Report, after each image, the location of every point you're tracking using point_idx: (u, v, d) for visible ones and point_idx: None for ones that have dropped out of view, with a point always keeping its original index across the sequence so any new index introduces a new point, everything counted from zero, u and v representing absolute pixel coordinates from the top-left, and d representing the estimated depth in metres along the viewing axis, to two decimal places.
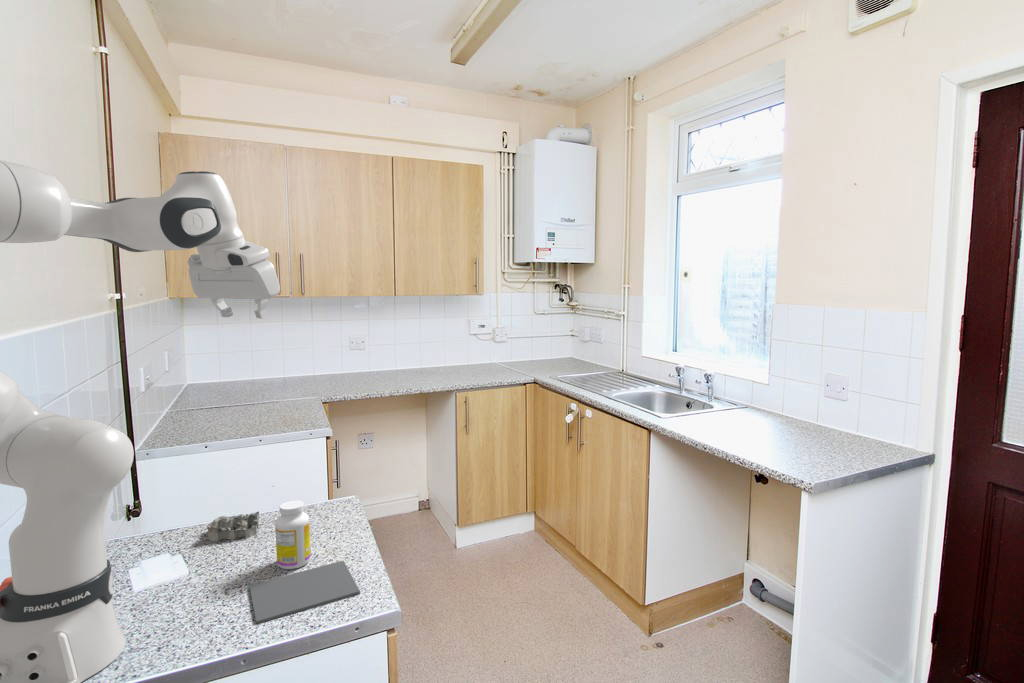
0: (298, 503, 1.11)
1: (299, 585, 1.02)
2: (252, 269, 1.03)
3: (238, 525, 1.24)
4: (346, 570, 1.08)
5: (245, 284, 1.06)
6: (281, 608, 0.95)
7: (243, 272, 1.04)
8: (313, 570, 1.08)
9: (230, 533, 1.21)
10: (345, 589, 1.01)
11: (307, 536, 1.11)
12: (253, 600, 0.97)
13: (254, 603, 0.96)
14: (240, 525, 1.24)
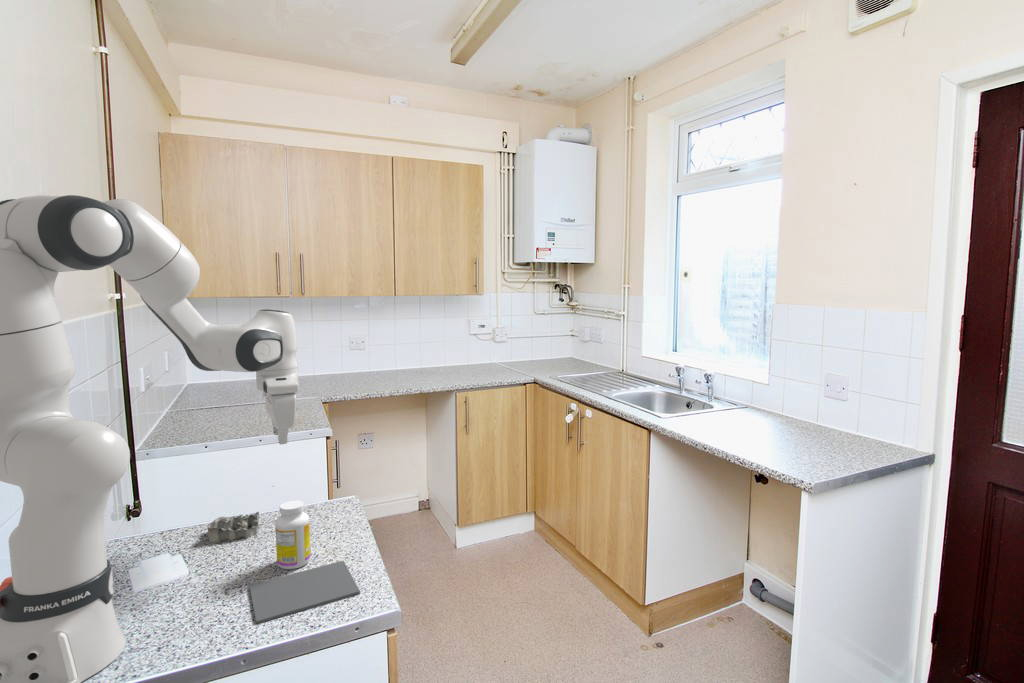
0: (298, 503, 1.11)
1: (299, 585, 1.02)
2: (271, 399, 1.12)
3: (238, 525, 1.24)
4: (346, 570, 1.08)
5: (273, 410, 1.16)
6: (281, 608, 0.95)
7: None
8: (313, 570, 1.08)
9: (230, 533, 1.21)
10: (345, 589, 1.01)
11: (307, 536, 1.11)
12: (253, 600, 0.97)
13: (254, 603, 0.96)
14: (240, 525, 1.24)
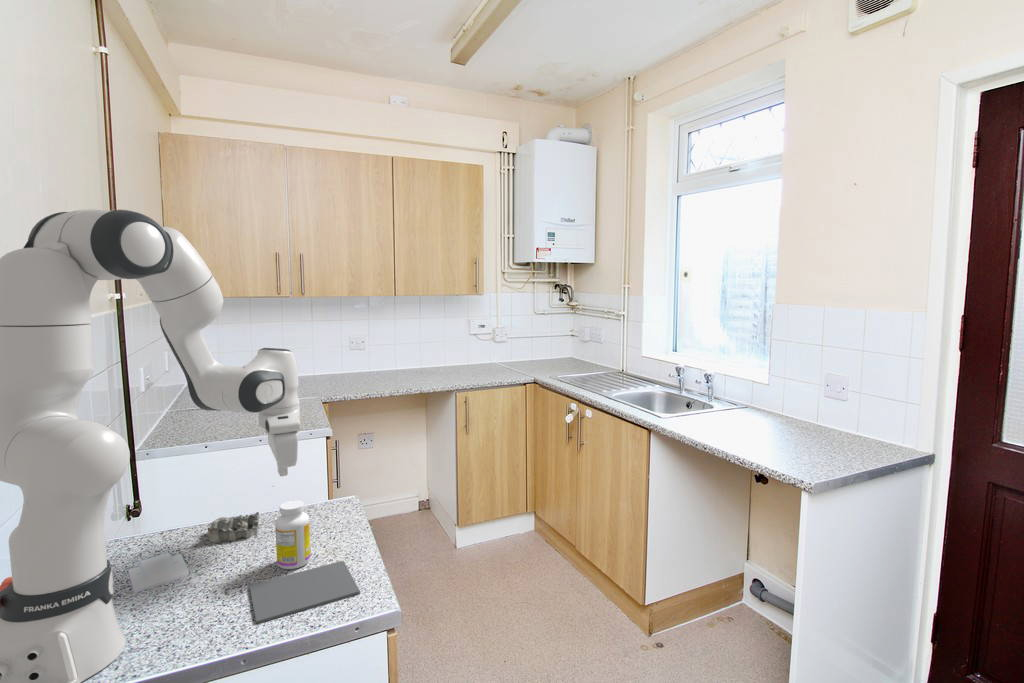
0: (298, 503, 1.11)
1: (299, 585, 1.02)
2: (273, 438, 1.13)
3: (238, 526, 1.24)
4: (346, 570, 1.08)
5: None
6: (281, 608, 0.95)
7: None
8: (313, 570, 1.08)
9: (231, 534, 1.21)
10: (345, 589, 1.01)
11: (307, 536, 1.11)
12: (253, 600, 0.97)
13: (254, 603, 0.96)
14: (240, 526, 1.24)
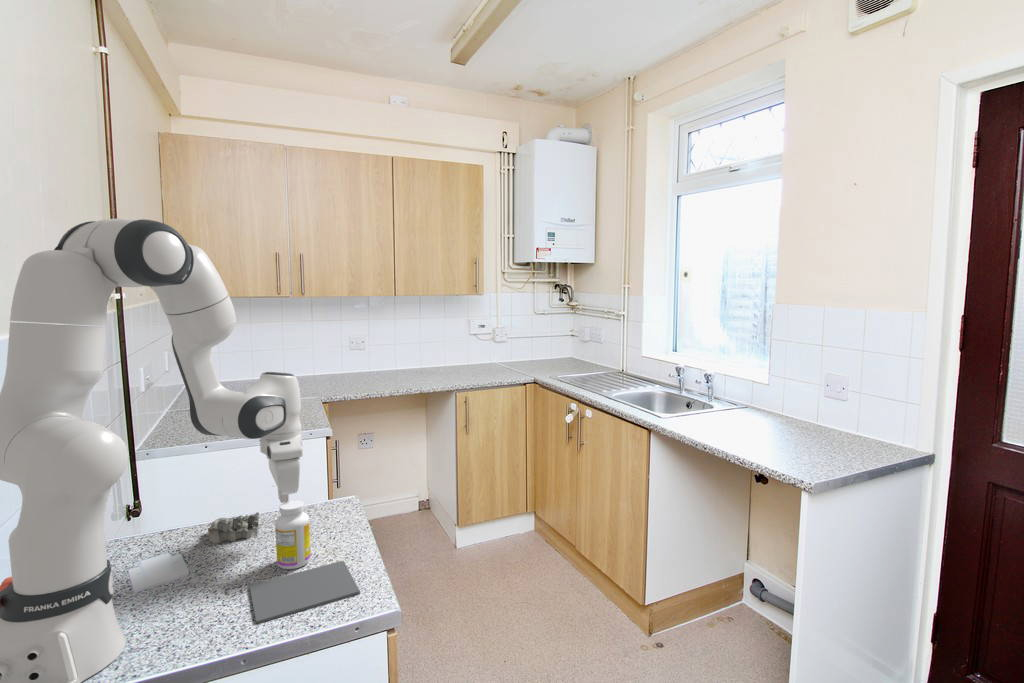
0: (297, 503, 1.11)
1: (299, 585, 1.02)
2: (275, 465, 1.11)
3: (239, 526, 1.23)
4: (346, 570, 1.08)
5: None
6: (281, 608, 0.95)
7: None
8: (313, 570, 1.08)
9: (231, 534, 1.21)
10: (345, 589, 1.01)
11: (307, 536, 1.11)
12: (253, 600, 0.97)
13: (254, 603, 0.96)
14: (241, 526, 1.24)
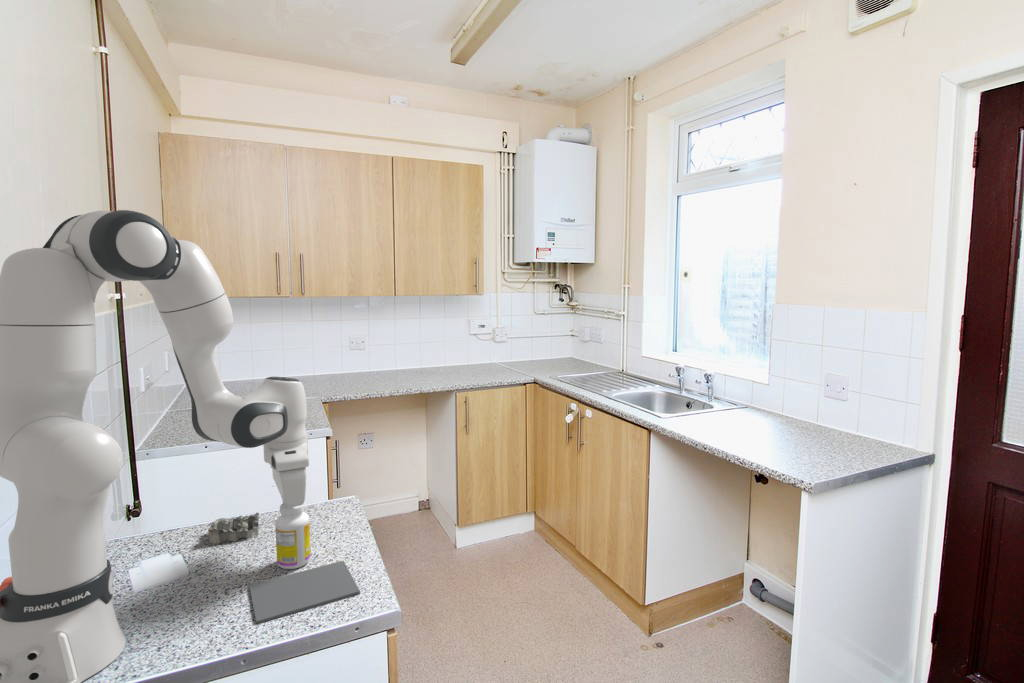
0: None
1: (299, 585, 1.02)
2: (280, 475, 1.05)
3: (239, 526, 1.23)
4: (346, 570, 1.08)
5: None
6: (281, 608, 0.95)
7: None
8: (313, 570, 1.08)
9: (232, 534, 1.21)
10: (345, 589, 1.01)
11: (307, 536, 1.10)
12: (253, 600, 0.97)
13: (254, 603, 0.96)
14: (241, 526, 1.23)
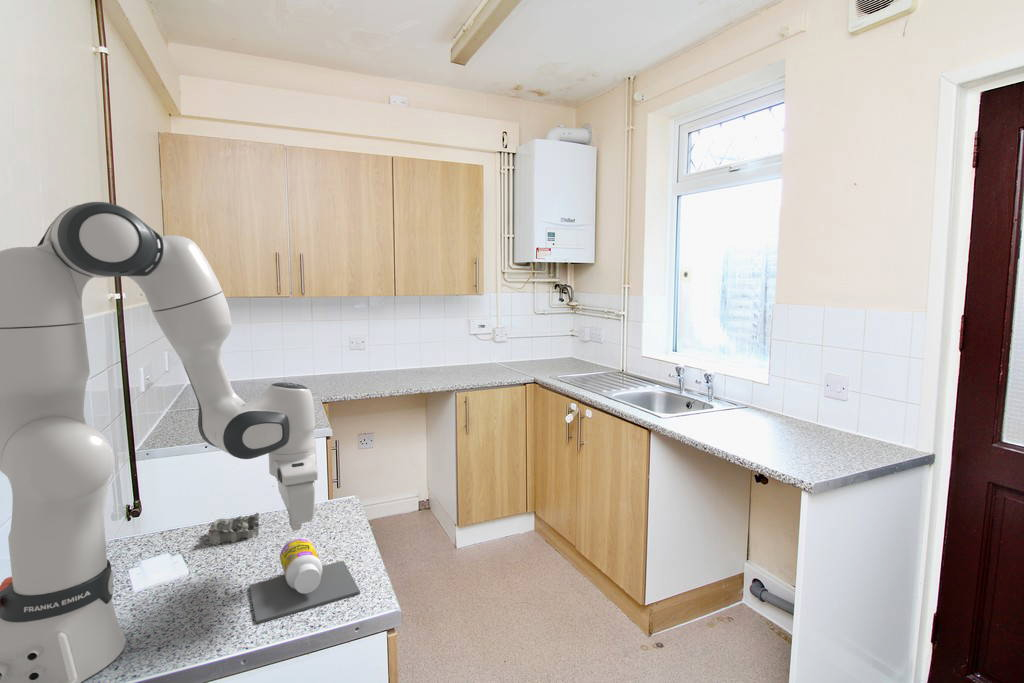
0: (315, 579, 0.98)
1: None
2: (287, 490, 0.97)
3: (239, 527, 1.23)
4: (346, 570, 1.08)
5: None
6: (281, 608, 0.95)
7: None
8: None
9: (232, 535, 1.20)
10: (345, 589, 1.01)
11: None
12: (253, 600, 0.97)
13: (254, 603, 0.96)
14: (241, 527, 1.23)
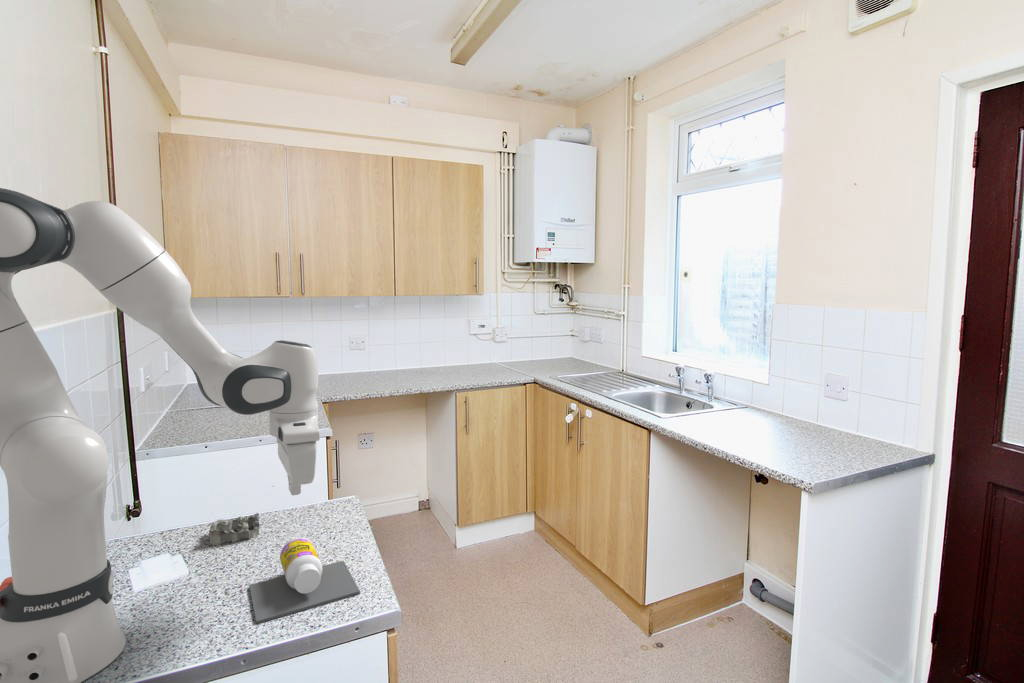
0: (315, 579, 0.98)
1: None
2: (287, 449, 0.94)
3: (240, 527, 1.23)
4: (346, 570, 1.08)
5: (288, 461, 0.98)
6: (281, 608, 0.95)
7: None
8: None
9: (233, 535, 1.20)
10: (345, 589, 1.01)
11: None
12: (253, 600, 0.97)
13: (254, 603, 0.96)
14: (242, 527, 1.23)
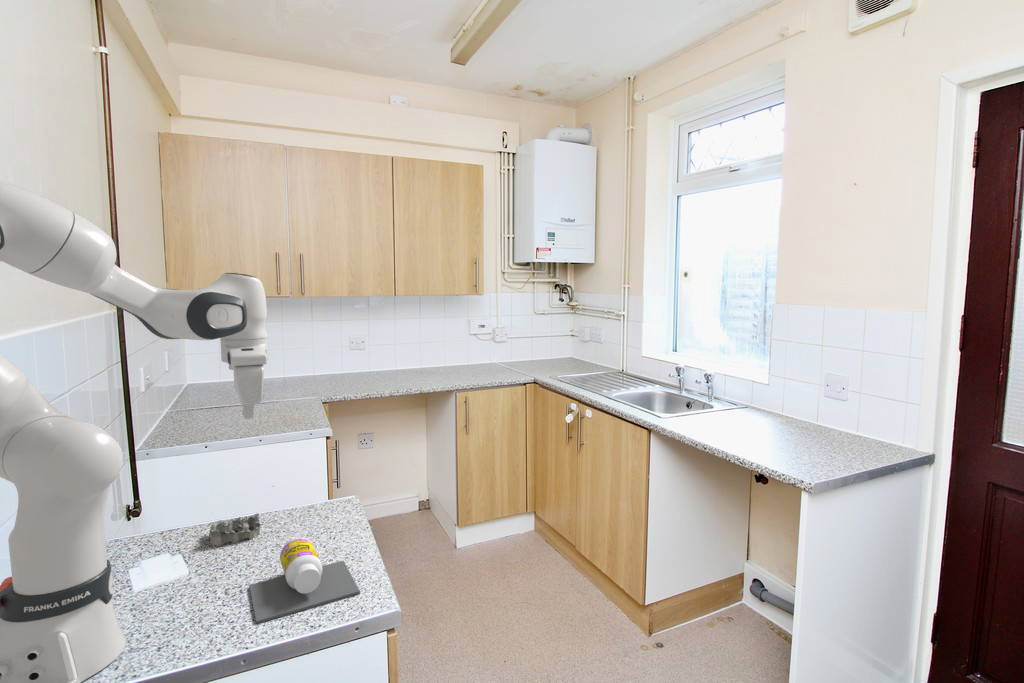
0: (315, 579, 0.98)
1: None
2: (235, 370, 1.01)
3: (240, 528, 1.23)
4: (346, 570, 1.08)
5: None
6: (281, 608, 0.95)
7: None
8: None
9: (234, 536, 1.20)
10: (345, 589, 1.01)
11: None
12: (253, 600, 0.97)
13: (254, 603, 0.96)
14: (242, 527, 1.23)
